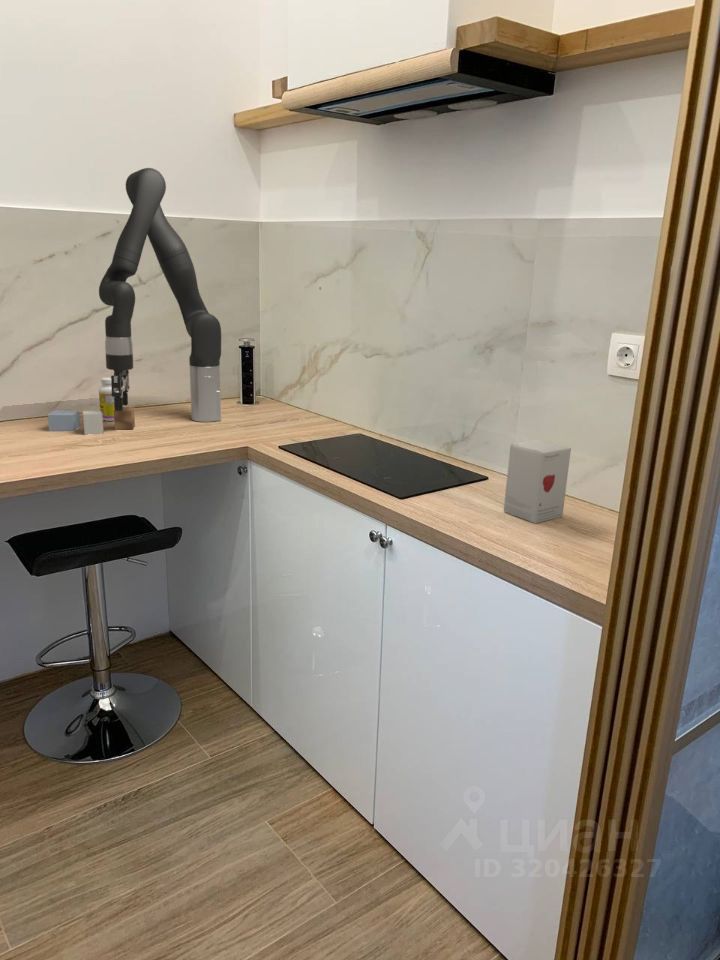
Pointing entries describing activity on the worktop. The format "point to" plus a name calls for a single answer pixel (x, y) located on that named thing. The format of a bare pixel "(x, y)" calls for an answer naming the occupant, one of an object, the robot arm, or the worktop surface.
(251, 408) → the worktop surface
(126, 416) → the walnut block
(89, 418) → the grey block
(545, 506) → the supplement box
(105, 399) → the supplement bottle
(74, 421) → the base block
